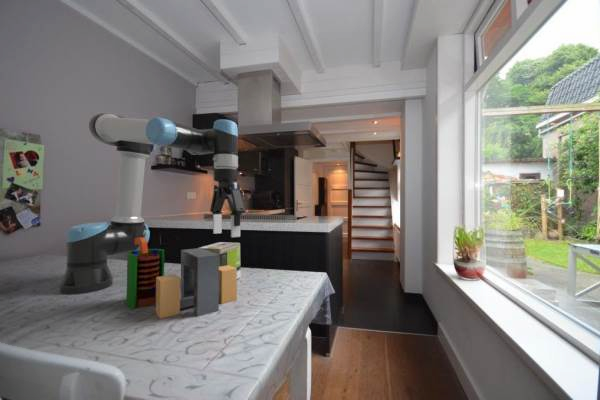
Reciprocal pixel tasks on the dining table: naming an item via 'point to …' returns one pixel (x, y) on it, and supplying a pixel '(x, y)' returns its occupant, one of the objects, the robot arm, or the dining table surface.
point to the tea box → (227, 254)
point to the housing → (200, 279)
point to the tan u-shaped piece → (171, 302)
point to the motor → (143, 274)
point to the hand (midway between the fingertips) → (226, 235)
